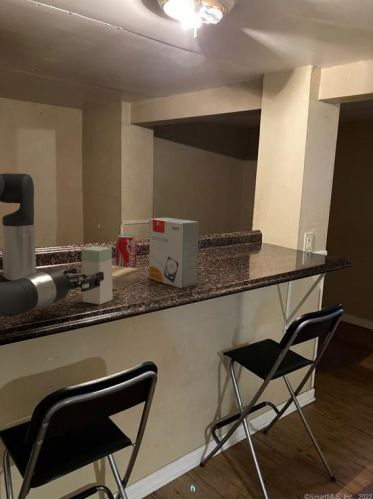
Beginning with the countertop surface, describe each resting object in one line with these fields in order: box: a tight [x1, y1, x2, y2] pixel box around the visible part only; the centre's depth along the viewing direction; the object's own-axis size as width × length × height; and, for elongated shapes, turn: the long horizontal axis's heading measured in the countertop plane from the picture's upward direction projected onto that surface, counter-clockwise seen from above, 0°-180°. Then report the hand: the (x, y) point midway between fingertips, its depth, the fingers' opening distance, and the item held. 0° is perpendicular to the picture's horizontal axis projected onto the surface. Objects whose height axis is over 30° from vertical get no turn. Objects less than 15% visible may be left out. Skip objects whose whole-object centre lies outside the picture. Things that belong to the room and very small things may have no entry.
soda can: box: [115, 234, 138, 269], centre depth 136 cm, size 7×7×13 cm
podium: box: [112, 265, 140, 291], centre depth 122 cm, size 12×12×4 cm
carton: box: [81, 245, 114, 305], centre depth 103 cm, size 6×6×14 cm
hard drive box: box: [148, 217, 200, 289], centre depth 124 cm, size 16×8×20 cm, turn 45°
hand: (88, 273), depth 100 cm, fingers open, 8 cm apart
